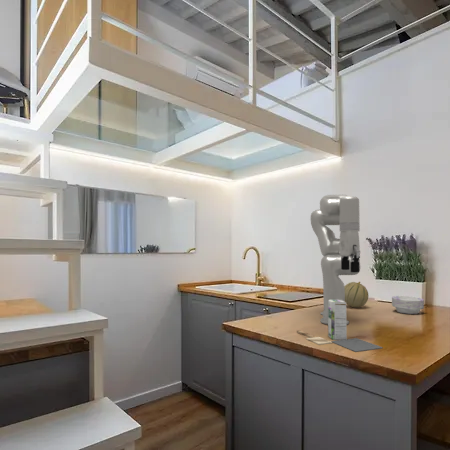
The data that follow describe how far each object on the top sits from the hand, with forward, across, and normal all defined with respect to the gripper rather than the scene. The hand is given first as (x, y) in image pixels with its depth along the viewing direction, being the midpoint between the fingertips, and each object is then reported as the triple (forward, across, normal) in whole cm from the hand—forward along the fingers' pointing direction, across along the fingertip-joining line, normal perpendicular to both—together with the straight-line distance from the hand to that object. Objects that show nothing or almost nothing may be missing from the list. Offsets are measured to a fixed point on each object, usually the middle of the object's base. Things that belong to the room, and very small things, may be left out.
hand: (350, 270), depth 136 cm
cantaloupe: (+28, -64, +28) cm, 75 cm away
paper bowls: (+28, -48, +50) cm, 75 cm away
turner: (+26, +1, -16) cm, 30 cm away
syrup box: (+26, +1, -6) cm, 27 cm away
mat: (+26, +11, -2) cm, 28 cm away
